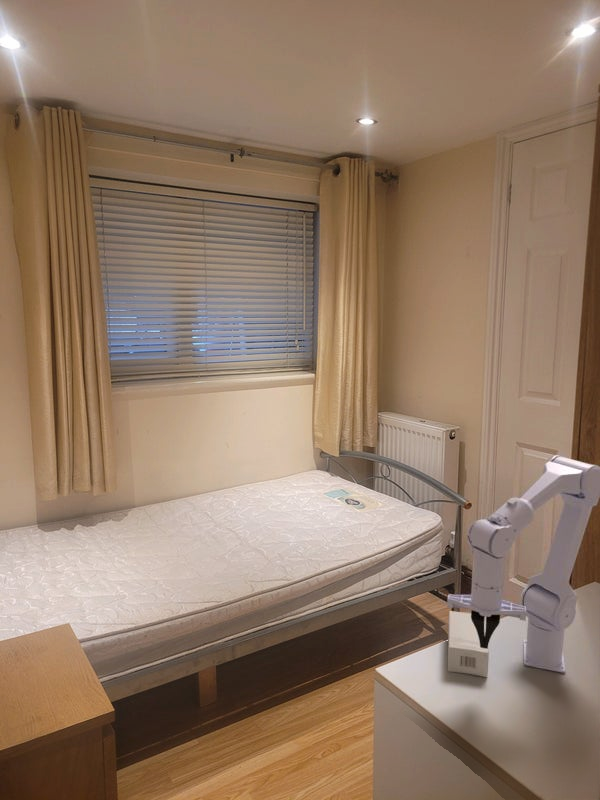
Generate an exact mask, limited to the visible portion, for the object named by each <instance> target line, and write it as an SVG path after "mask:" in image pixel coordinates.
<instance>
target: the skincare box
mask: <svg viewBox="0 0 600 800" xmlns="http://www.w3.org/2000/svg"><path fill="white" fill-rule="evenodd" d="M448 614H449V615H448V630H447V631H448V638H447V639H448V642H447V645H448V647H447V650H448V651H447V655H448V658H447V670H448V672H450V673H459V674H467V675H473V676H477V677H478V676H480V677H482V678H488V675H489V673H488V672H489V661H490V660H489V657H490V656H489V655H490V651H489V649H490V648H488V649H486V648H481V647H480V641H479V637H478V633H477V630H476V628H475V626H474V624H473V622H472V619H471V612H467V611H465V612H464V611H463V612H461V611H454V610H449V611H448ZM486 617H487V616H485V620H484V634H485V631H486Z"/></svg>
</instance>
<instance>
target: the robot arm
mask: <svg viewBox="0 0 600 800" xmlns="http://www.w3.org/2000/svg"><path fill="white" fill-rule="evenodd" d="M557 495H560V497H561V498H562V501H563V503H564V504H563V508H562V510H561V513H560V517H559V520H558V523H557V526H556V529H555V533H554V535H553V538H552V541H551V545H550V548H549V551H548V555H547V558H546V560H545V564H544V566H543V570H542V572H541V573H538V574H534V575H531V576H530V577H529V579H528V582H527V584H526V585H525V587H524V588H523V590H522V592H521V593H520V597H519V598H520V604H516V603H513V602H511V601H507V600H505V599H503V592H504V591H503V589H504V574H505V573H504V571H505V570H504V569H505V556H506V555H508V554H509V552H510V551H511V549H512V548H513V544H514V542H515V541H516V539H517V536H518V535H519V534H520V533H521V532H522V531H523V530H524V529H526V528H527V527H528V526H529V525H530V524H531V523H532V522H533V521H534V519H535V513H534V512H535V511H536V510H538V509H539V508H541V507H542V506H544V505H545V504H546V503H547V502H549V501H550V500H551V499H553V498H554V497H555V496H557ZM599 500H600V466H599V465H596V464H591V463H588V462H583V461H579V460H575V459H572V458H568V457H564V456H563V455H560V454H556V455H554V456H552V457H551V458H550V459H549V460H548V461H547V462H545V464H544V467H543V469H542V474H541V476H540V477H539V478H538V479H537V480H536V481H535V483H534V484H532V486H530V487H529V489H528V490H526V492H525V493H523V495H522V496H521V497H520V498H519V497H511V498H509V499H508V500H506V502H505V503H504V504H502V505H501V506H500V507H499V508H498V509H496V510H495V511H494V512H493V513H492V514H490V515H489V517H488V518H485V519H484V518H483V519H478V520H476V521H474V522H473V523H472V524H471V525H470V527H469V530H468V533H467V534H466V541H467V543H468V544H469V546H470V554H471V555H472V570H471V593H470V594H451V593H449V594H448V595H447V601H446V603H447V606H446V608H448V609H454V608H458V609H465V610H469V611H470V610H471V612H470V613H471V619H472V622H473V624H474V626H475V628H476V630H477V633H478V637H479V641H480V647H481V648H486V649H489V643H490V640H491V637H492V635H493V634H494V632H495V630H496V629H497V628H498V626H499V624H500V621H501V616H505V617H511V618H512V617H513V618H517V619H519V620H520V621H524V622H526V621H527V629H526V632H527V633H526V638H524V639H523V640H522V641H523V664H524V666H527V667H533V668H538V669H541V670H543V669H544V670H546V671H547V670H548V671H552V672H557V673H566V666H565V657H564V651H563V650H564V640H565V638H564V637H565V630H566V629H568V628H570V626H571V625H573V622H574V621H575V619H576V613H577V612H576V610H577V609H576V608H577V607H576V606H577V602H578V598H579V597H578V595H577V594H576V592H575V590H574V589H573V587H572V586H571V584H570V579H571V575H572V572H573V569H574V566H575V563H576V559H577V556H578V554H579V550H580V547H581V543H582V541H583V538H584V534H585V532H586V528H587V526H588V522H589V519H590V516H591V513H592V510H593V507H596V506H597V505H598V502H599ZM485 616H486V631H485V634H484V620H485Z"/></svg>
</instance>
